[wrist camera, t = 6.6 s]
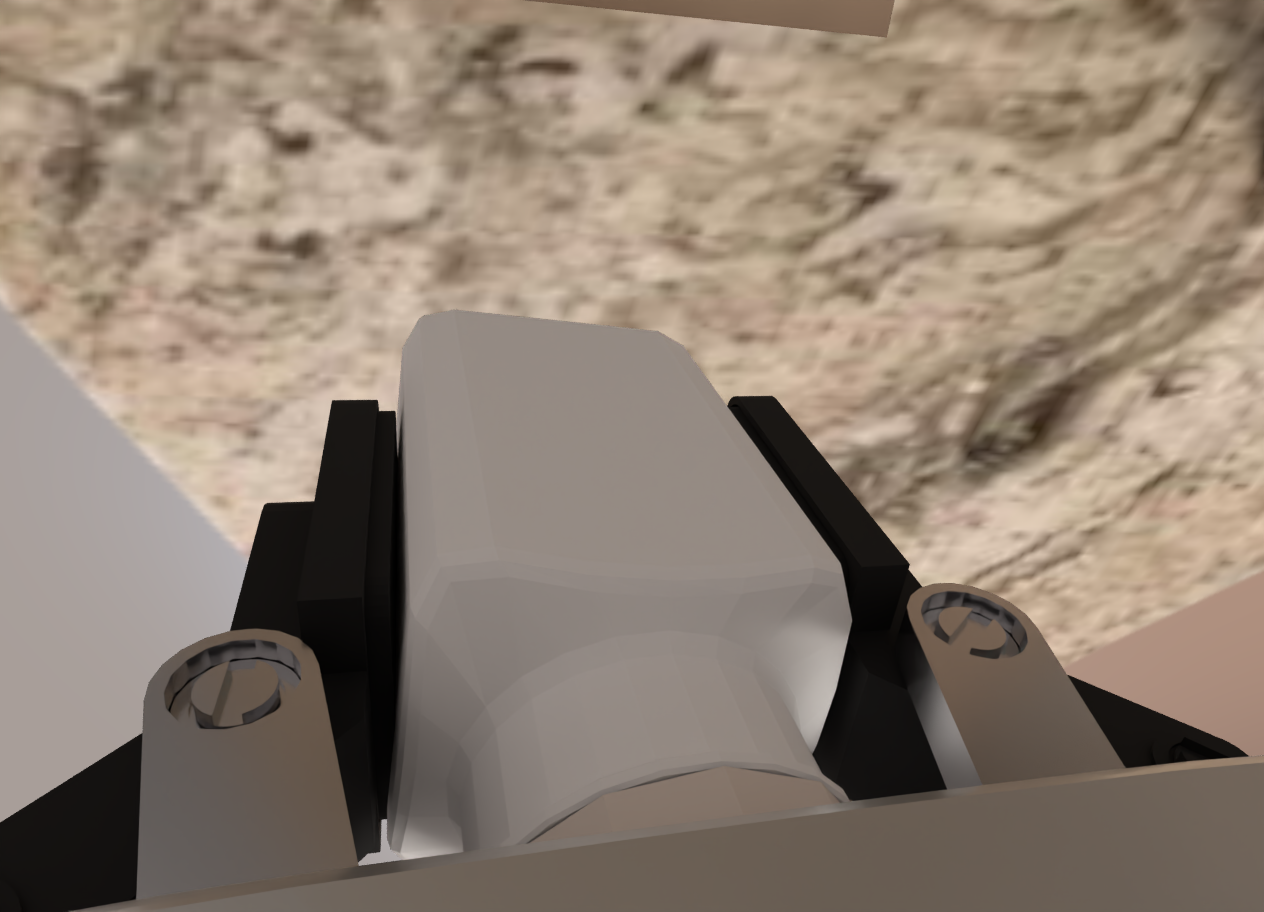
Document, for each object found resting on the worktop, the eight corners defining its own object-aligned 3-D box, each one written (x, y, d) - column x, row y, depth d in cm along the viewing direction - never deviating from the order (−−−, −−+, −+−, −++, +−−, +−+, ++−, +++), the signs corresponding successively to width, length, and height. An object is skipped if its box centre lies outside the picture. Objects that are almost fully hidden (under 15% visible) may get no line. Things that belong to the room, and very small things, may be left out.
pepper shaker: (385, 536, 13) (377, 1401, 5) (405, 288, 12) (436, 1047, 4) (632, 543, 15) (921, 1261, 7) (686, 319, 13) (1170, 942, 5)
